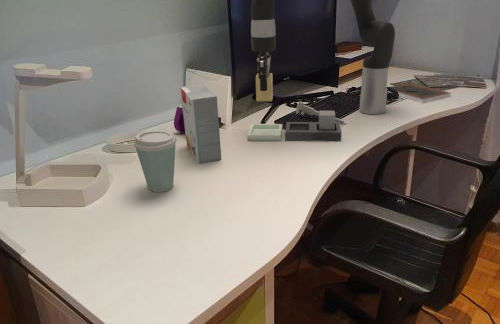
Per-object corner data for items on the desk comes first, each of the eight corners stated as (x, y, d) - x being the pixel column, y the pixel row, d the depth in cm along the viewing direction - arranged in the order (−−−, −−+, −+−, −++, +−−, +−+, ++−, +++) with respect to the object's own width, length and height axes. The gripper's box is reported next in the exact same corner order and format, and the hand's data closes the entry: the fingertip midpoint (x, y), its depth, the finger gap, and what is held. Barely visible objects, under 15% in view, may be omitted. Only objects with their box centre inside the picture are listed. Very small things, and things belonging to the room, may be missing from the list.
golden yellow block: (272, 97, 139) (272, 73, 135) (271, 101, 134) (271, 76, 131) (258, 97, 139) (257, 73, 136) (256, 101, 135) (255, 76, 131)
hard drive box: (186, 146, 135) (179, 86, 127) (208, 142, 138) (203, 83, 129) (197, 164, 122) (191, 98, 114) (222, 160, 124) (218, 95, 116)
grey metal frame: (338, 130, 143) (339, 122, 142) (340, 141, 134) (341, 132, 133) (286, 130, 146) (286, 121, 144) (285, 140, 137) (285, 132, 135)
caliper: (295, 116, 159) (296, 101, 156) (297, 116, 160) (297, 100, 157) (345, 125, 148) (346, 109, 145) (347, 124, 149) (348, 108, 146)
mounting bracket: (205, 137, 159) (171, 130, 144) (210, 115, 158) (176, 106, 144) (224, 142, 153) (190, 135, 139) (229, 119, 153) (196, 111, 138)
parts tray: (282, 129, 146) (282, 124, 145) (280, 141, 136) (280, 135, 135) (251, 129, 148) (251, 123, 147) (247, 140, 138) (247, 135, 137)
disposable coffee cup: (165, 174, 117) (158, 124, 110) (190, 185, 110) (184, 132, 104) (133, 188, 110) (124, 135, 103) (158, 201, 103) (150, 145, 97)
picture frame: (383, 93, 186) (422, 104, 168) (383, 87, 185) (423, 98, 167) (409, 87, 192) (450, 98, 175) (410, 82, 191) (451, 92, 174)
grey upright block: (333, 133, 141) (334, 110, 138) (334, 138, 137) (335, 115, 133) (318, 133, 142) (319, 110, 139) (318, 138, 137) (319, 115, 134)
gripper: (273, 37, 121) (274, 94, 128) (276, 31, 134) (277, 83, 141) (248, 38, 122) (250, 94, 129) (253, 31, 135) (255, 83, 142)
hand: (264, 88), depth 135 cm, fingers closed on golden yellow block, 5 cm apart
